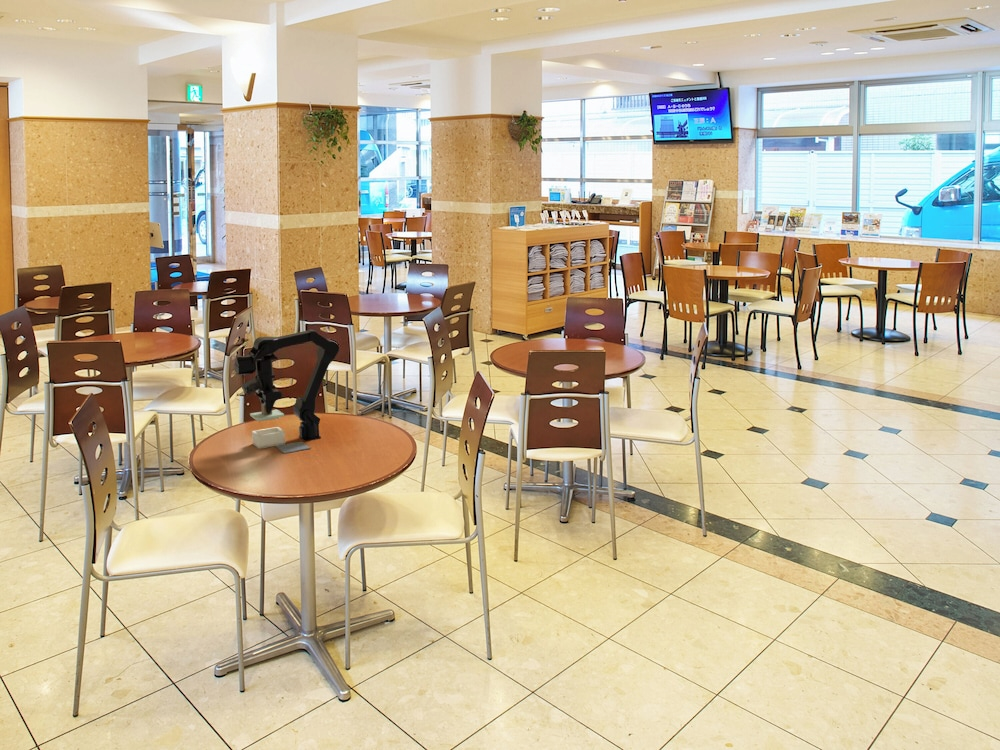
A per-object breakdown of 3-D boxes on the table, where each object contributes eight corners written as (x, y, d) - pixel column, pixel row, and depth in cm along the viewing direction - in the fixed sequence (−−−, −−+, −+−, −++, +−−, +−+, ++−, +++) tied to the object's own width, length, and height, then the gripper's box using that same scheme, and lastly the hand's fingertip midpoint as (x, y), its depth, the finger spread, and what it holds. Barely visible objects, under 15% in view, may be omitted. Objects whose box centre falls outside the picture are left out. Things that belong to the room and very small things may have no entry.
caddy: (278, 439, 332) (277, 426, 331) (285, 444, 326) (284, 431, 325) (252, 443, 327) (252, 431, 325) (259, 449, 321) (258, 436, 320)
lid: (277, 413, 330) (276, 399, 328) (284, 418, 324) (283, 403, 322) (250, 418, 324) (249, 403, 323) (256, 423, 318) (255, 407, 317)
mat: (301, 442, 329) (301, 441, 328) (310, 448, 322) (310, 447, 322) (276, 447, 323) (275, 446, 323) (284, 453, 316) (284, 452, 316)
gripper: (234, 369, 323) (237, 409, 327) (251, 380, 308) (253, 422, 312) (264, 365, 329) (266, 405, 333) (281, 376, 314) (283, 417, 318)
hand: (266, 412), depth 323 cm, fingers closed on lid, 3 cm apart
